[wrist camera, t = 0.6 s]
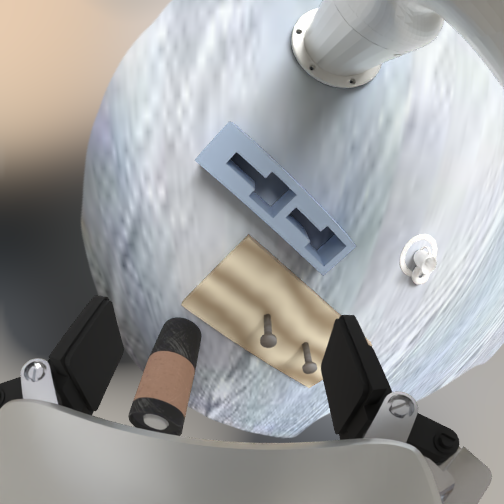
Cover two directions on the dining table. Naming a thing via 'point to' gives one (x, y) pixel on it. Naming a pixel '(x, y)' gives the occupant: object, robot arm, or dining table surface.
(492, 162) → the dining table surface
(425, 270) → the white curved piece
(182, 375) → the travel mug
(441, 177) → the dining table surface
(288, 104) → the dining table surface
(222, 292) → the board
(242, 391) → the dining table surface
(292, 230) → the blue slotted peg holder
